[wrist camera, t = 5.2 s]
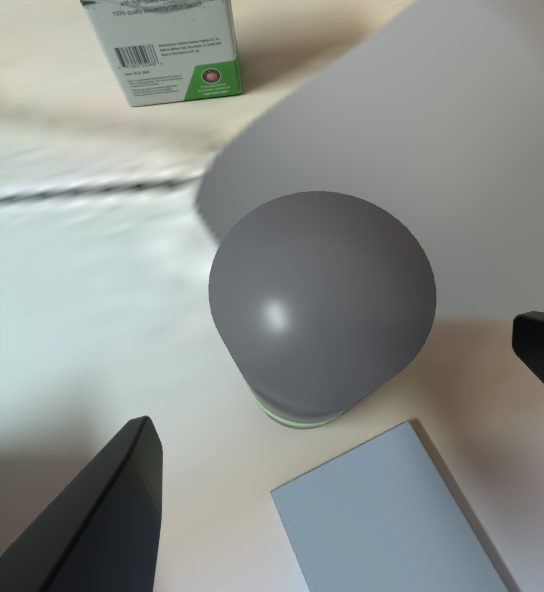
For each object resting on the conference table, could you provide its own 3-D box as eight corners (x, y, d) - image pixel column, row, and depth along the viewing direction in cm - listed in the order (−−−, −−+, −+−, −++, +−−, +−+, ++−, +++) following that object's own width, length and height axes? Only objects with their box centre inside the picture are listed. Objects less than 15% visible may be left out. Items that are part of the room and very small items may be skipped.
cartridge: (371, 401, 17) (489, 333, 7) (276, 449, 17) (262, 445, 7) (321, 313, 19) (361, 162, 9) (235, 352, 19) (176, 235, 9)
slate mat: (518, 618, 14) (528, 625, 13) (362, 718, 13) (365, 730, 12) (404, 421, 17) (408, 420, 16) (270, 491, 16) (270, 492, 15)
